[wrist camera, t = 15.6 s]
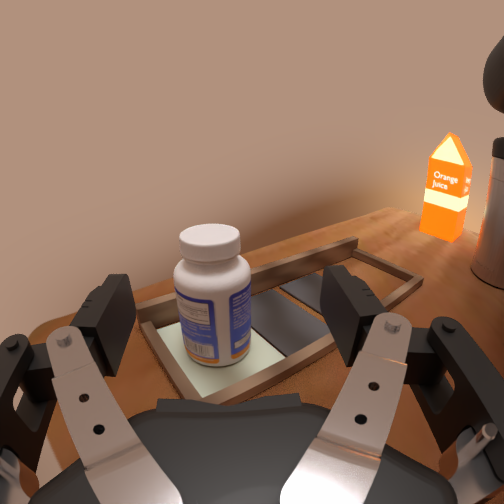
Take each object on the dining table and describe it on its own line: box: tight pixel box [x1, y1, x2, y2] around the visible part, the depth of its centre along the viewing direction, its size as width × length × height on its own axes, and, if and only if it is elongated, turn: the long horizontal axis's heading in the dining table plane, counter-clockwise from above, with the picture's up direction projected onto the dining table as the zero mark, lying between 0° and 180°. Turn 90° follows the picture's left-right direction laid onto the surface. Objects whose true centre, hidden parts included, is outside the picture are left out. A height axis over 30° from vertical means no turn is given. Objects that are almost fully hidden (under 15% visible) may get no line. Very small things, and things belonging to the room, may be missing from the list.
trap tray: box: [135, 236, 424, 406], centre depth 28 cm, size 30×12×2 cm, turn 125°
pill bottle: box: [174, 224, 251, 366], centre depth 21 cm, size 5×5×10 cm
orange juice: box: [419, 133, 472, 242], centre depth 47 cm, size 8×9×20 cm
